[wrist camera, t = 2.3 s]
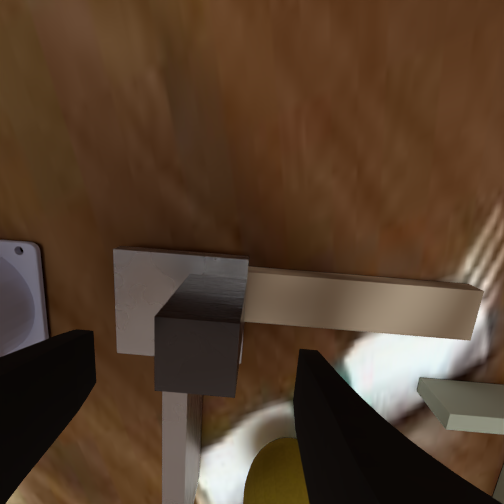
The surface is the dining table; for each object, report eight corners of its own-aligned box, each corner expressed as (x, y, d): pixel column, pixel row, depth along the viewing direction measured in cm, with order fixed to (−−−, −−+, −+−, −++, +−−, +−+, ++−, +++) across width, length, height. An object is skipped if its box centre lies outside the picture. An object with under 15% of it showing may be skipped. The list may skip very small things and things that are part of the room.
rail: (165, 306, 18) (159, 314, 17) (166, 259, 17) (159, 265, 16) (456, 330, 17) (470, 340, 16) (468, 283, 17) (483, 291, 16)
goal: (352, 515, 21) (373, 590, 17) (380, 374, 18) (413, 425, 14) (495, 529, 21) (549, 608, 17) (545, 388, 18) (623, 443, 14)
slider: (134, 470, 20) (72, 609, 13) (129, 242, 16) (38, 280, 10) (233, 479, 20) (218, 624, 13) (249, 252, 16) (241, 297, 10)
